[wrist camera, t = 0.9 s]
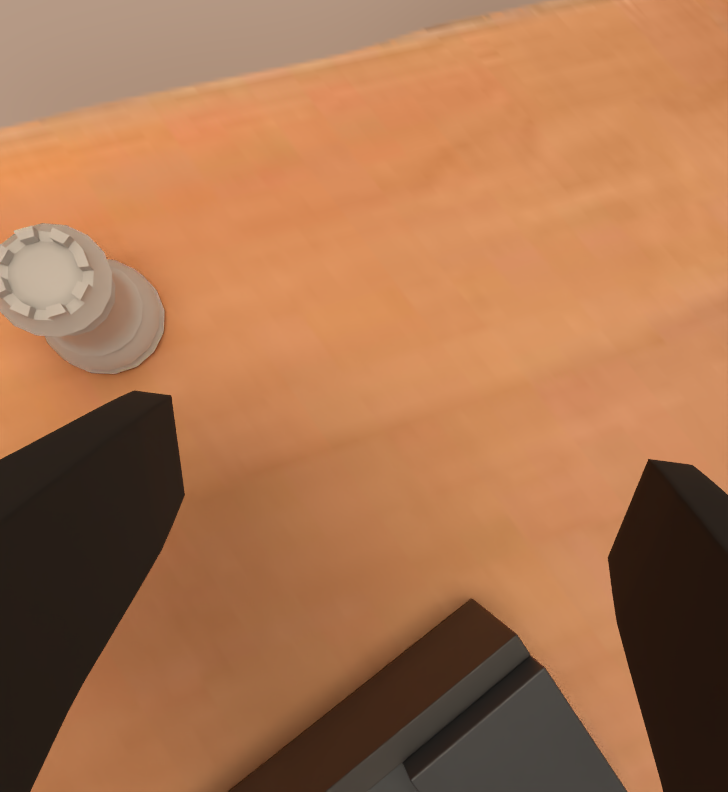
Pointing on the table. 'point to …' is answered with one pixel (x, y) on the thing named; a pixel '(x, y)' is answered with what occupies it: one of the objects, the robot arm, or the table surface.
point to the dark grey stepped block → (447, 725)
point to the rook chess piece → (79, 299)
